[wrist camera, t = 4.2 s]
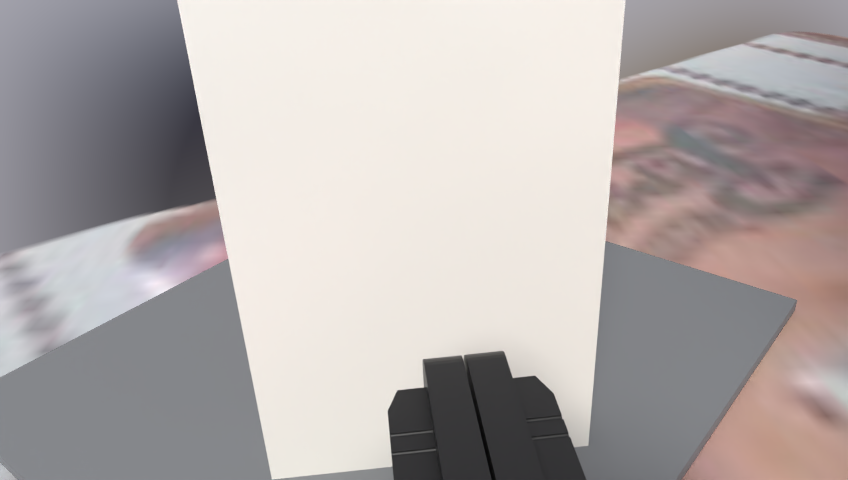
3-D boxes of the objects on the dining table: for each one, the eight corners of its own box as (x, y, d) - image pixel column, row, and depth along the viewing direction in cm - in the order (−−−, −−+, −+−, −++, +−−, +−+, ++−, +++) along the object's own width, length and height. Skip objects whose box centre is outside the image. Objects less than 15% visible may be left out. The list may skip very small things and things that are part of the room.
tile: (588, 445, 24) (627, -31, 17) (271, 479, 24) (176, -2, 16) (569, 397, 26) (597, -47, 19) (277, 427, 26) (194, -21, 18)
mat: (390, 182, 43) (389, 174, 43) (794, 310, 31) (797, 300, 31) (-48, 415, 28) (-53, 404, 27) (418, 872, 15) (417, 860, 15)
